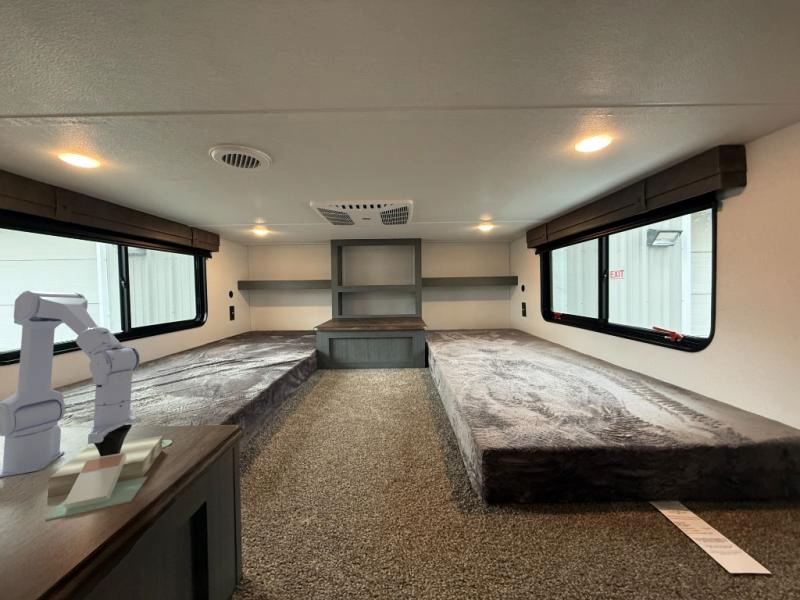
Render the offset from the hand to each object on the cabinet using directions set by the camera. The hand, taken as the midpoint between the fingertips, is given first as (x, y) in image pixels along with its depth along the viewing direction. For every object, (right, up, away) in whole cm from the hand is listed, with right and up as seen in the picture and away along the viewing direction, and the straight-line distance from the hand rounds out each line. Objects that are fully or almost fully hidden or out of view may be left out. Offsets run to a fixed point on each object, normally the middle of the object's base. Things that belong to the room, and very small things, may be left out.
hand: (110, 461), depth 62 cm
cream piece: (-4, -5, +4) cm, 8 cm away
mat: (+3, -5, -5) cm, 7 cm away
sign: (-1, -6, +21) cm, 22 cm away
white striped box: (+2, -2, -4) cm, 5 cm away
